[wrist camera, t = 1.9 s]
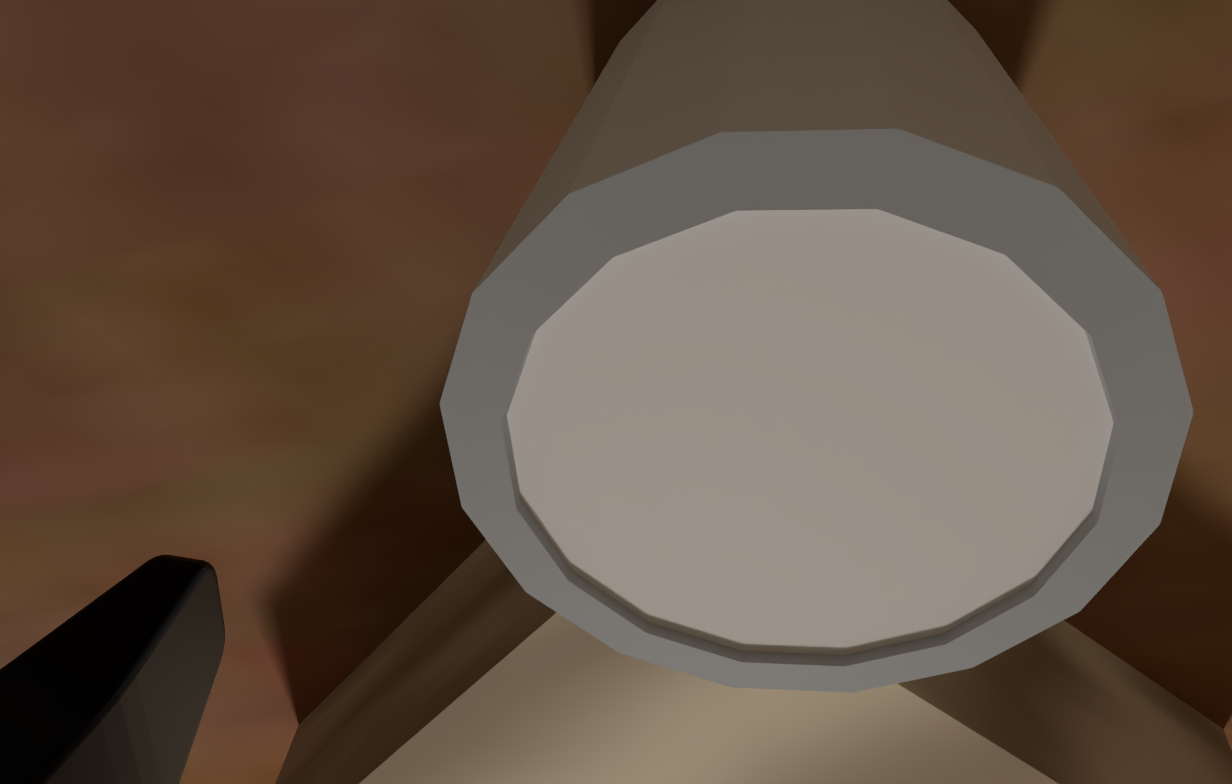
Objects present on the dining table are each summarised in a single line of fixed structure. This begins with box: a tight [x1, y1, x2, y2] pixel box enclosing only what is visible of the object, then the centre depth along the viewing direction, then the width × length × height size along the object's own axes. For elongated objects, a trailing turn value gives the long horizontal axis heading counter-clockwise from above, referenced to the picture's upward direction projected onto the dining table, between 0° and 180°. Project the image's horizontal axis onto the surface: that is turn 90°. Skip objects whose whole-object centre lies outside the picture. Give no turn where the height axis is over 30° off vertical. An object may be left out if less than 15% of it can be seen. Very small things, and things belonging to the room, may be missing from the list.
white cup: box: [439, 0, 1193, 693], centre depth 13 cm, size 7×7×7 cm
